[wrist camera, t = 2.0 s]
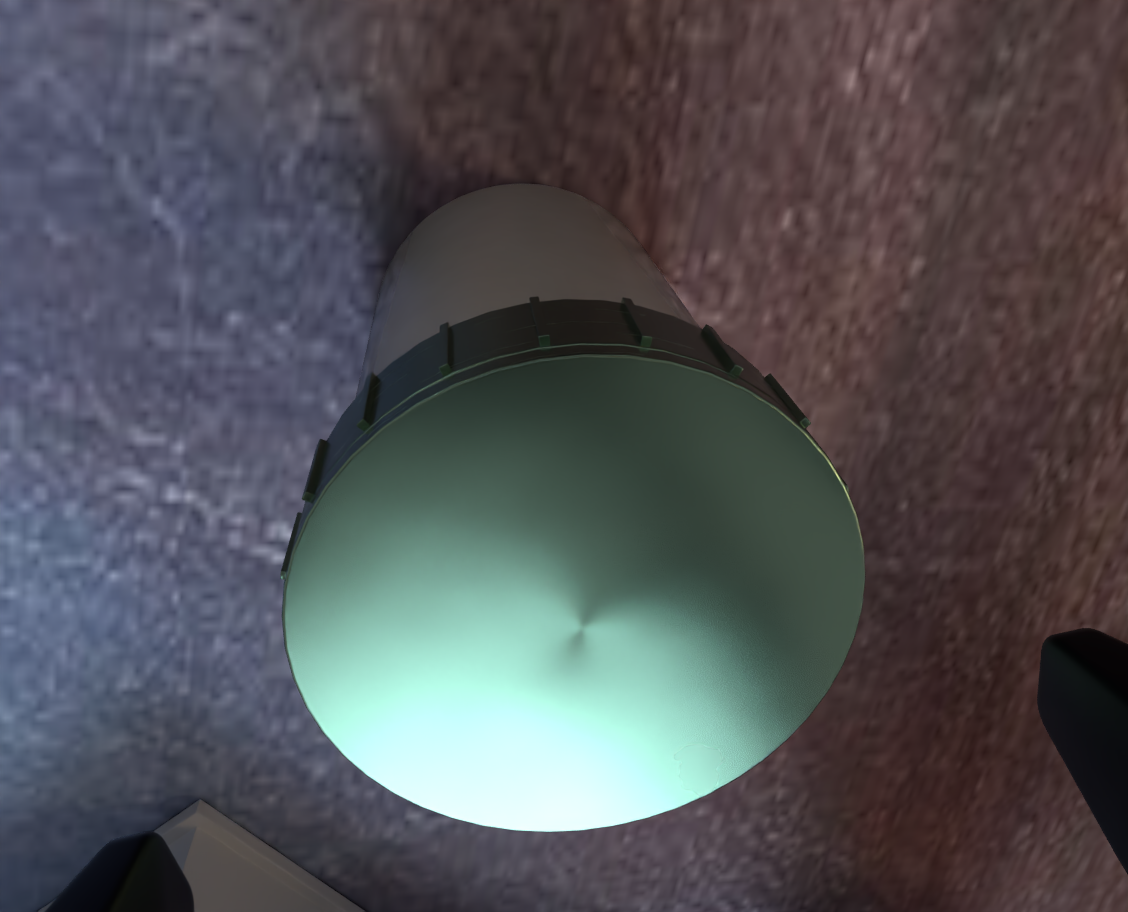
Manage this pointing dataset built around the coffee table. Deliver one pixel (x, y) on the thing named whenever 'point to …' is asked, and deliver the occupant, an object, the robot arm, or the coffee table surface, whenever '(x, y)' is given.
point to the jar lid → (568, 569)
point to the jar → (508, 265)
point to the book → (241, 868)
